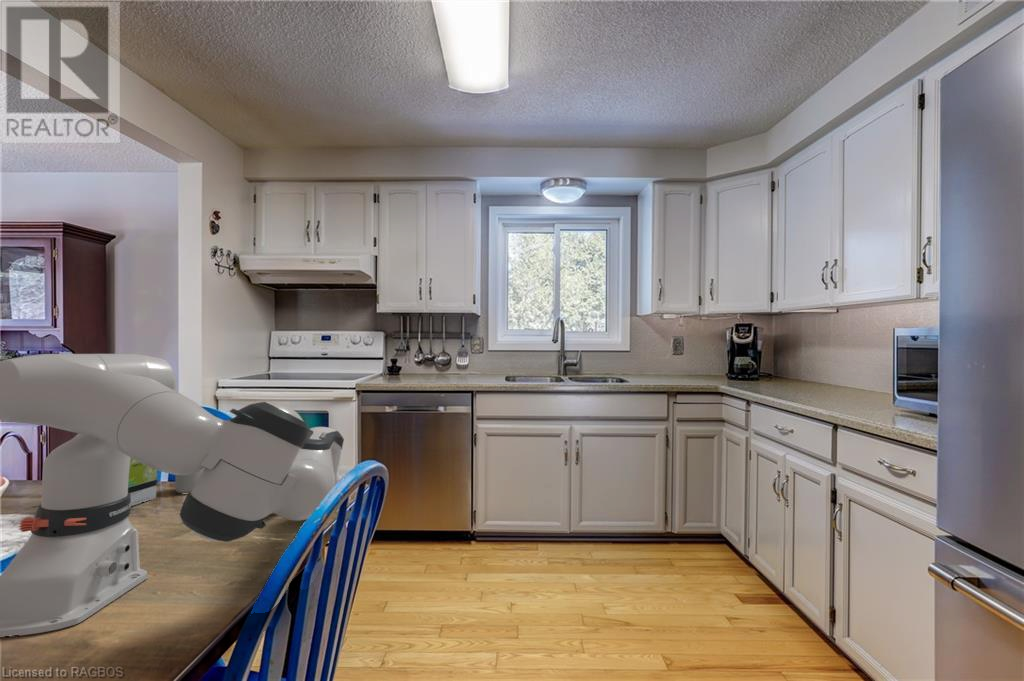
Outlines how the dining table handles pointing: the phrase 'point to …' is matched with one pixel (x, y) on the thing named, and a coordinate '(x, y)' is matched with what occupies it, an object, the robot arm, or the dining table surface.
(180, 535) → the dining table surface
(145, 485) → the tea box
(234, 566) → the dining table surface
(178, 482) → the can
